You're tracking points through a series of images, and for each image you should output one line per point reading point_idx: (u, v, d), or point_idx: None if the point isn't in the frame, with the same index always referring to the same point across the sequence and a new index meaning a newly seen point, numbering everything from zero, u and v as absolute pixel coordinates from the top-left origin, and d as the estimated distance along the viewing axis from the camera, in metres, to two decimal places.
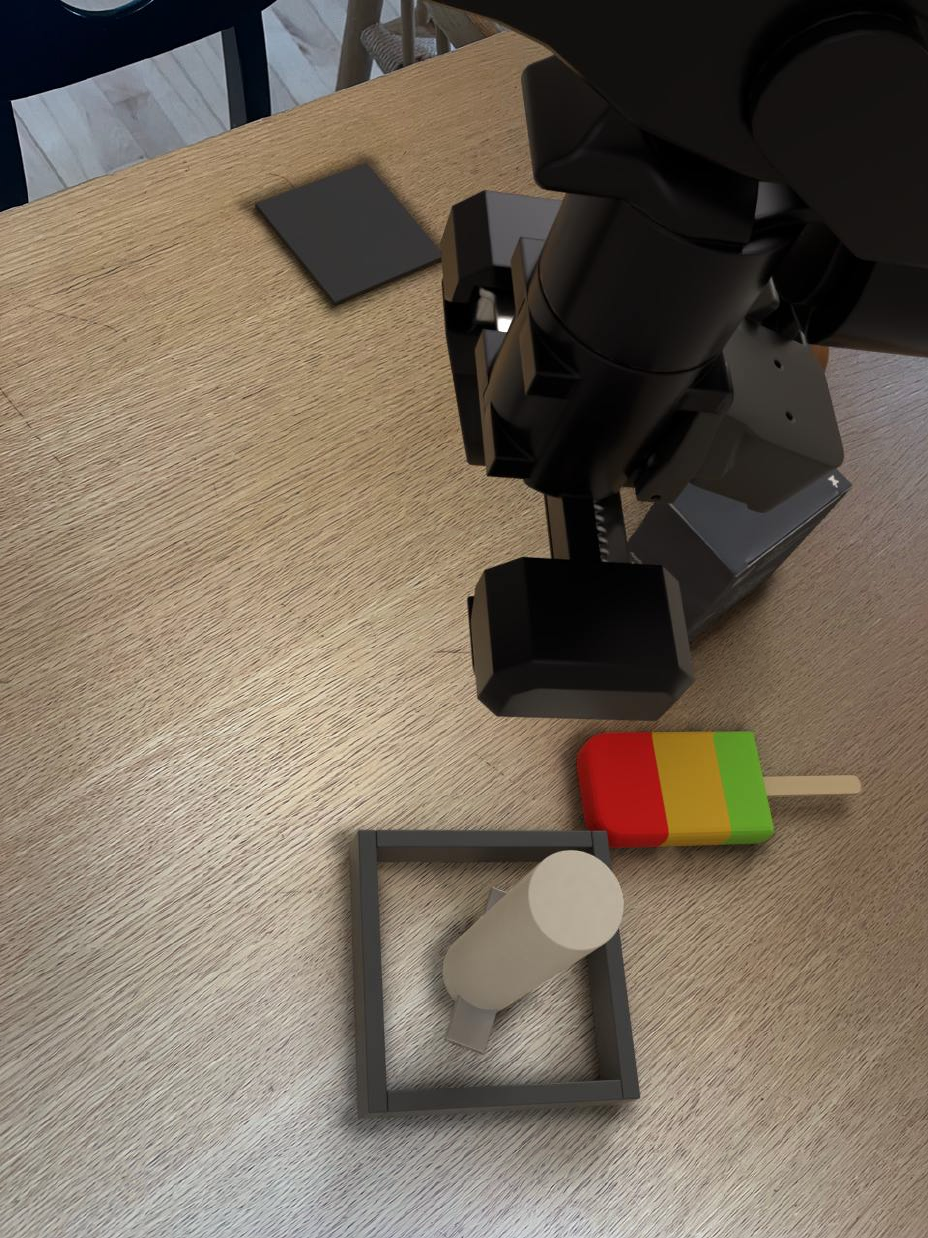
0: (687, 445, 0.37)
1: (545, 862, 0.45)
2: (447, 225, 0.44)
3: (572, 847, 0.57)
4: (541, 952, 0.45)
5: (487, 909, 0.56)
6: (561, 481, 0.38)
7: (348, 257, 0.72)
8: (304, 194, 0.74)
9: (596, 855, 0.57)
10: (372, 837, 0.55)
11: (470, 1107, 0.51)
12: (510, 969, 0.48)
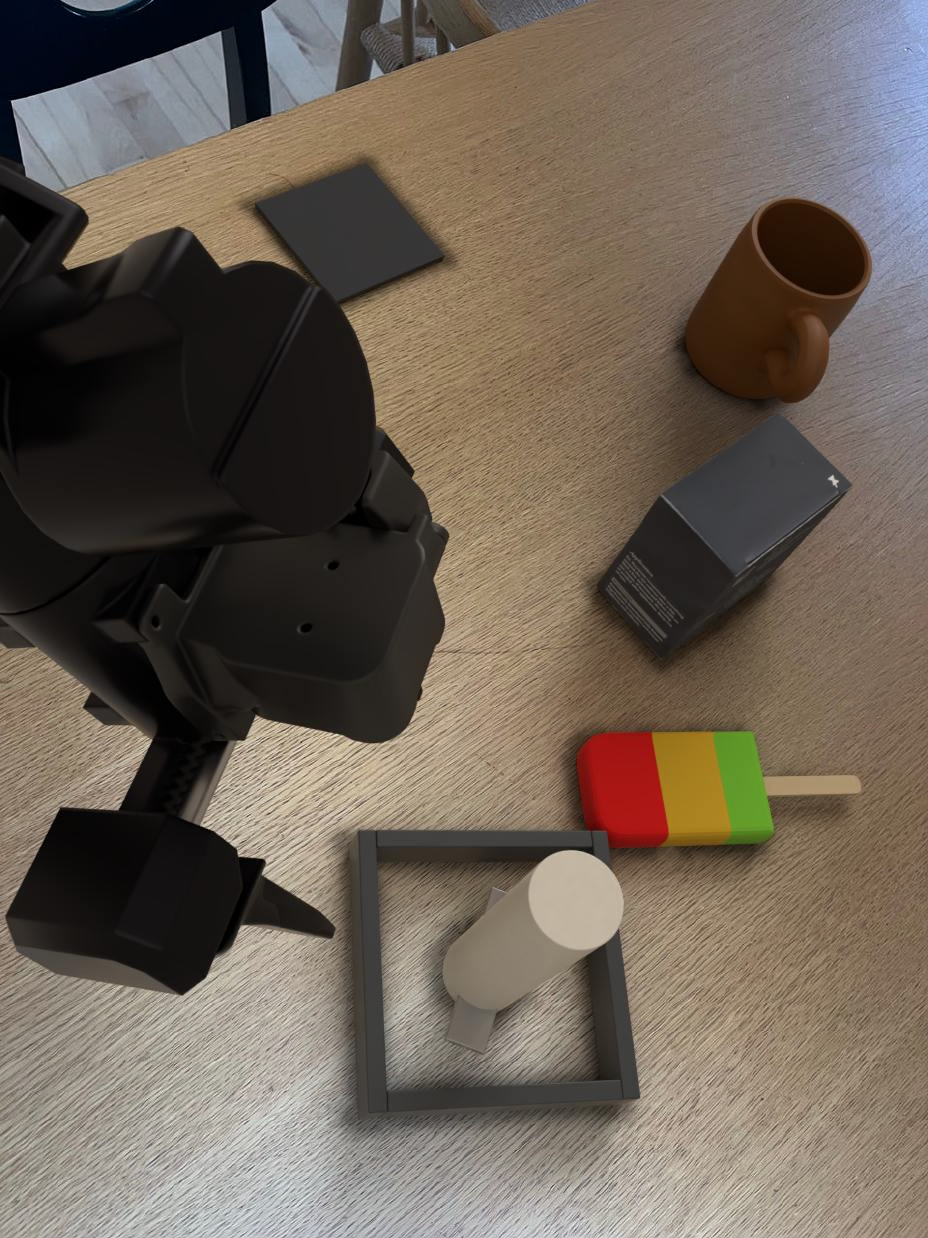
0: (163, 678, 0.33)
1: (545, 862, 0.45)
2: None
3: (572, 847, 0.57)
4: (541, 952, 0.45)
5: (487, 909, 0.56)
6: (136, 725, 0.36)
7: (348, 257, 0.72)
8: (304, 194, 0.74)
9: (596, 855, 0.57)
10: (372, 837, 0.55)
11: (470, 1107, 0.51)
12: (510, 969, 0.48)
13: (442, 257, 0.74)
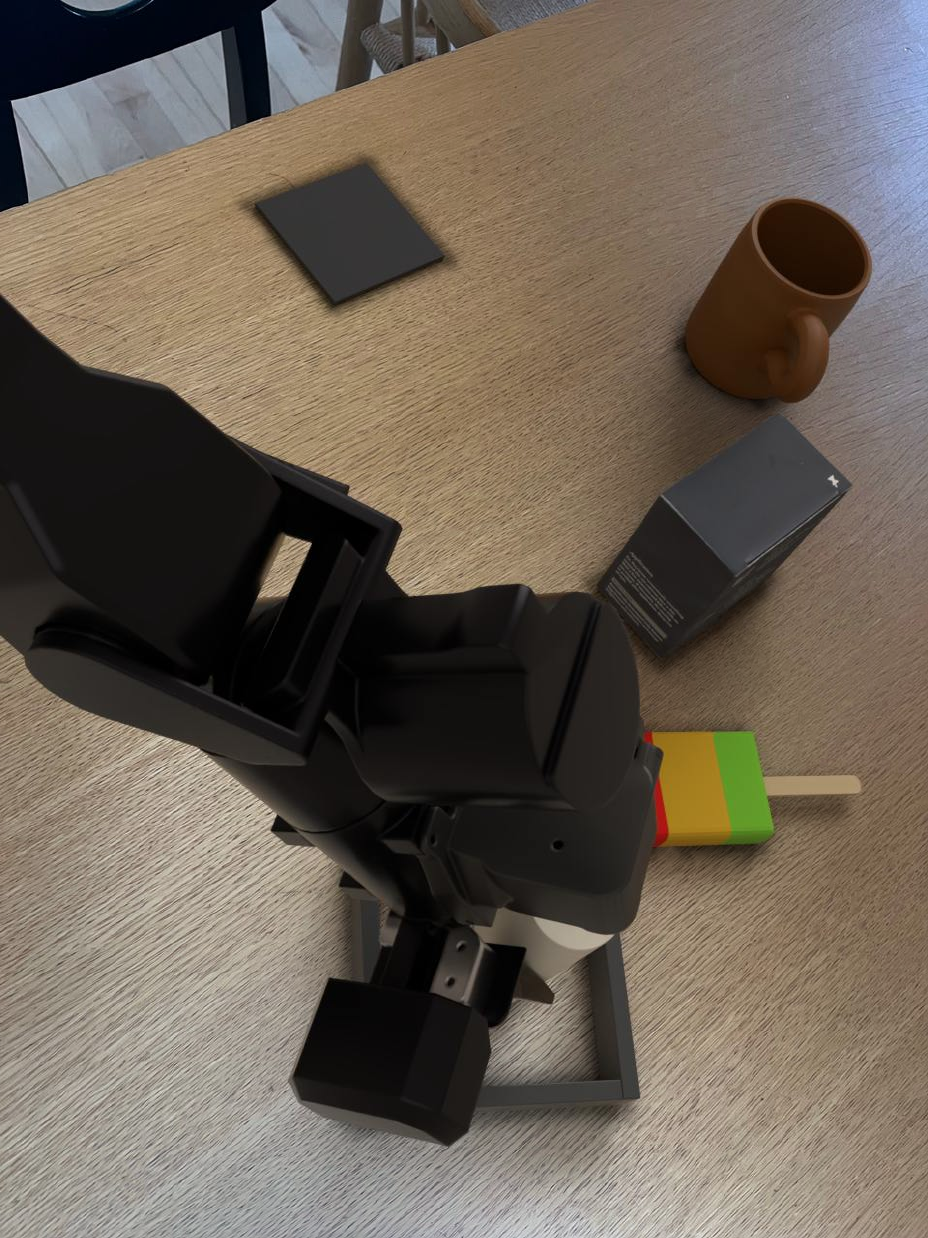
0: (432, 881, 0.40)
1: None
2: None
3: None
4: (541, 952, 0.45)
5: None
6: (390, 906, 0.43)
7: (348, 257, 0.72)
8: (304, 194, 0.74)
9: None
10: None
11: None
12: None
13: (442, 257, 0.74)
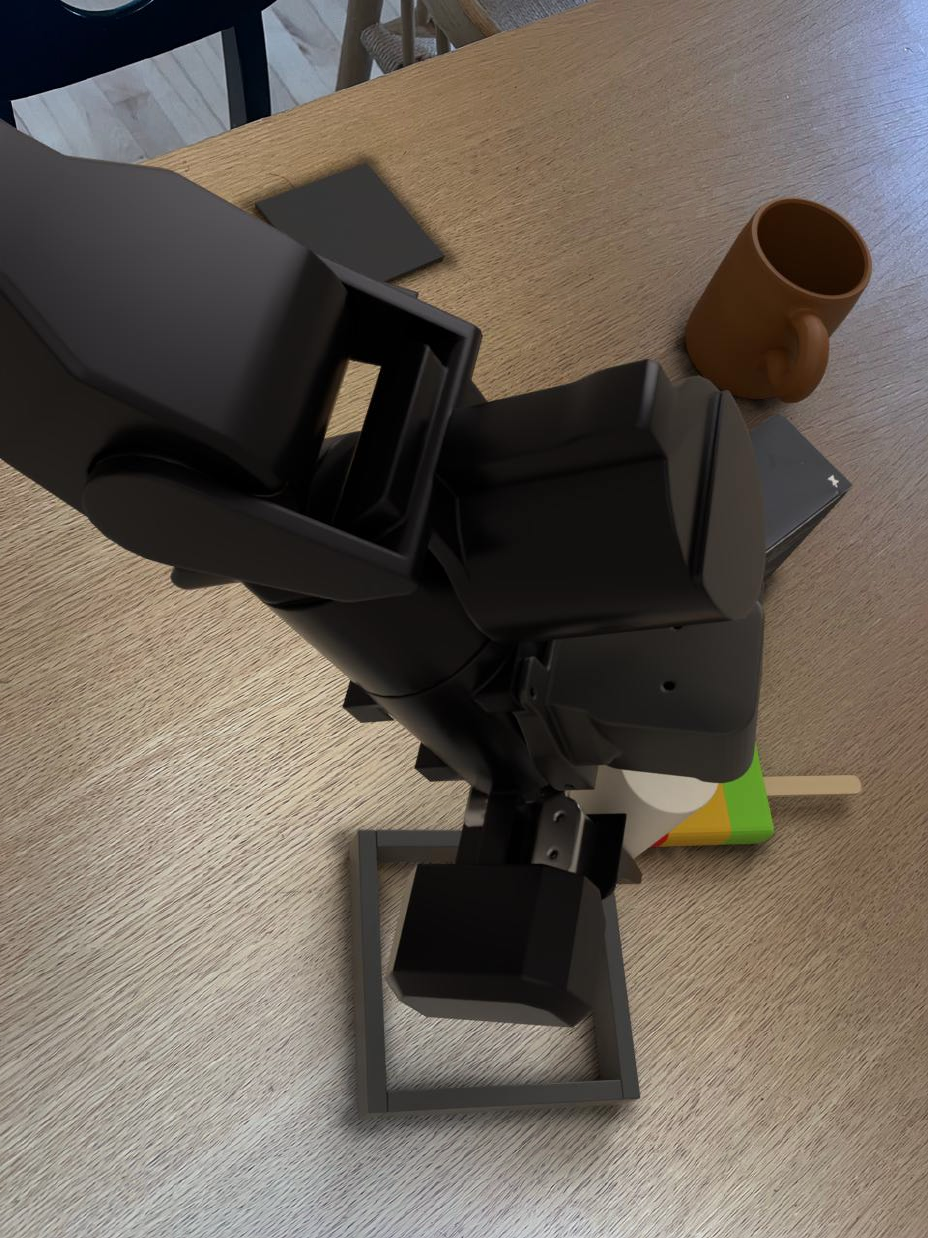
0: (531, 741, 0.36)
1: None
2: None
3: None
4: (635, 822, 0.42)
5: None
6: (476, 782, 0.39)
7: (348, 257, 0.72)
8: (304, 194, 0.74)
9: None
10: (372, 837, 0.55)
11: (470, 1107, 0.51)
12: None
13: (442, 257, 0.74)
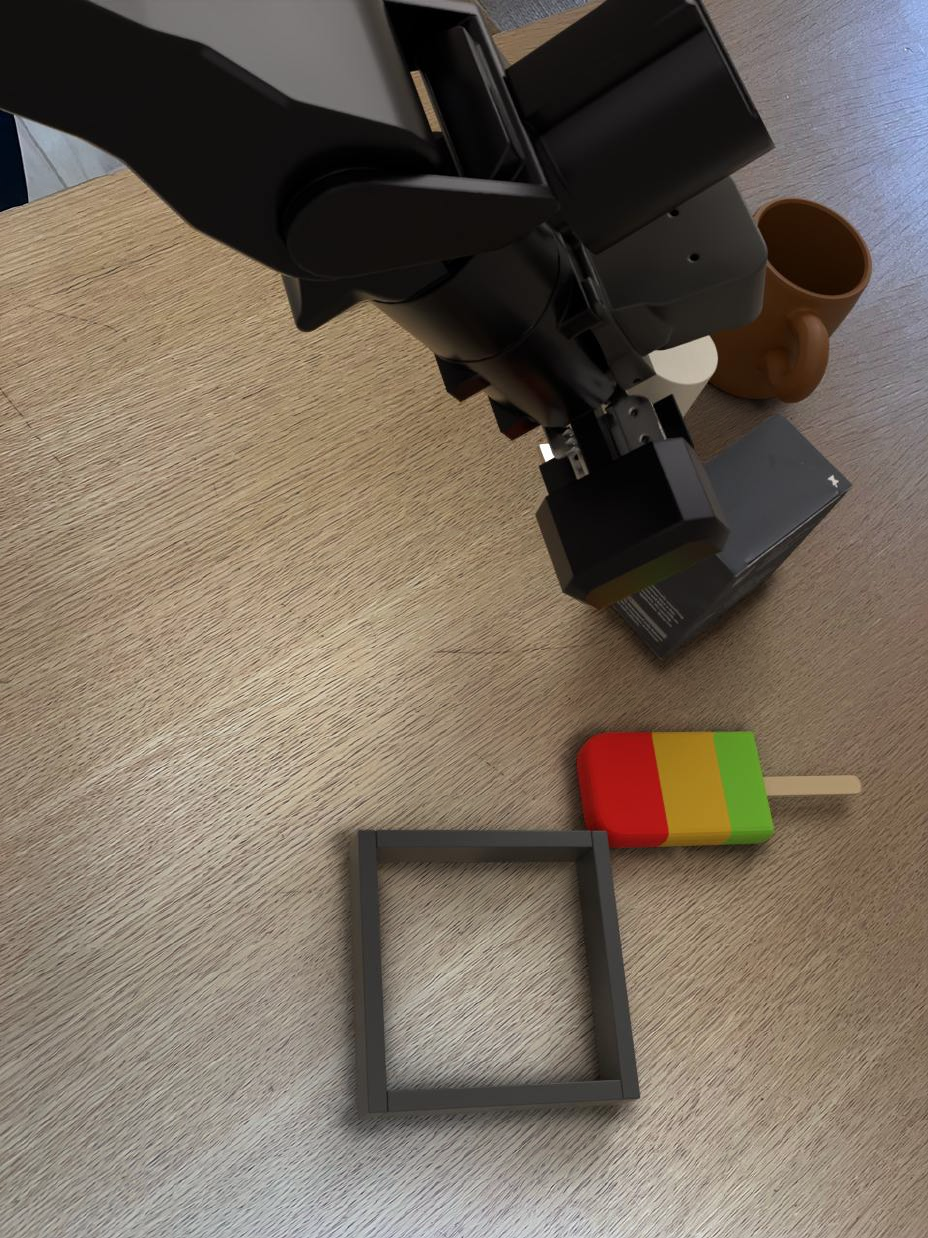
0: (608, 348, 0.43)
1: None
2: None
3: (572, 847, 0.57)
4: None
5: None
6: (557, 416, 0.46)
7: None
8: None
9: (596, 855, 0.57)
10: (372, 837, 0.55)
11: (470, 1107, 0.51)
12: None
13: None
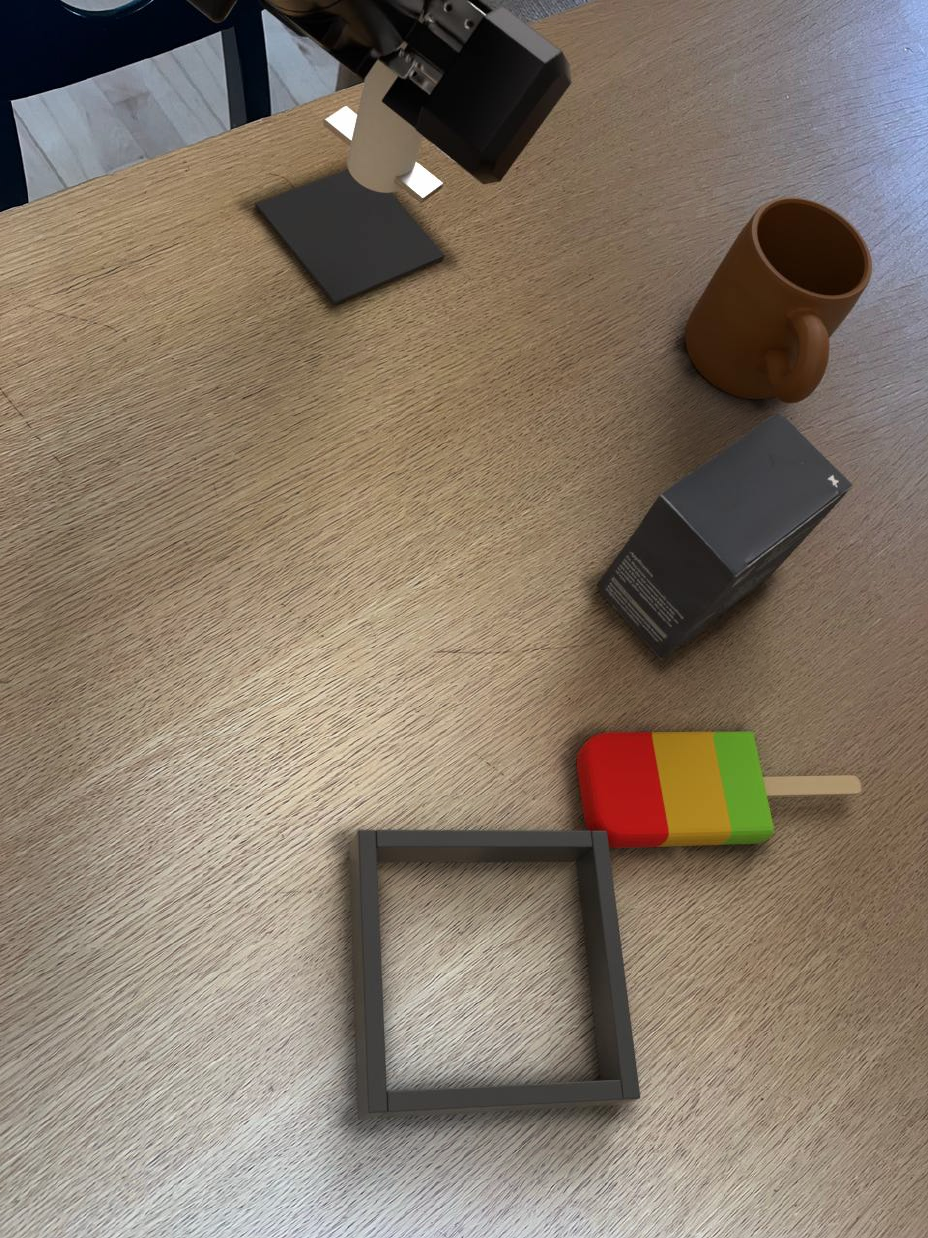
0: None
1: None
2: None
3: (572, 847, 0.57)
4: None
5: (340, 130, 0.67)
6: (394, 37, 0.53)
7: (348, 257, 0.72)
8: (304, 194, 0.74)
9: (596, 855, 0.57)
10: (372, 837, 0.55)
11: (470, 1107, 0.51)
12: None
13: (442, 257, 0.74)
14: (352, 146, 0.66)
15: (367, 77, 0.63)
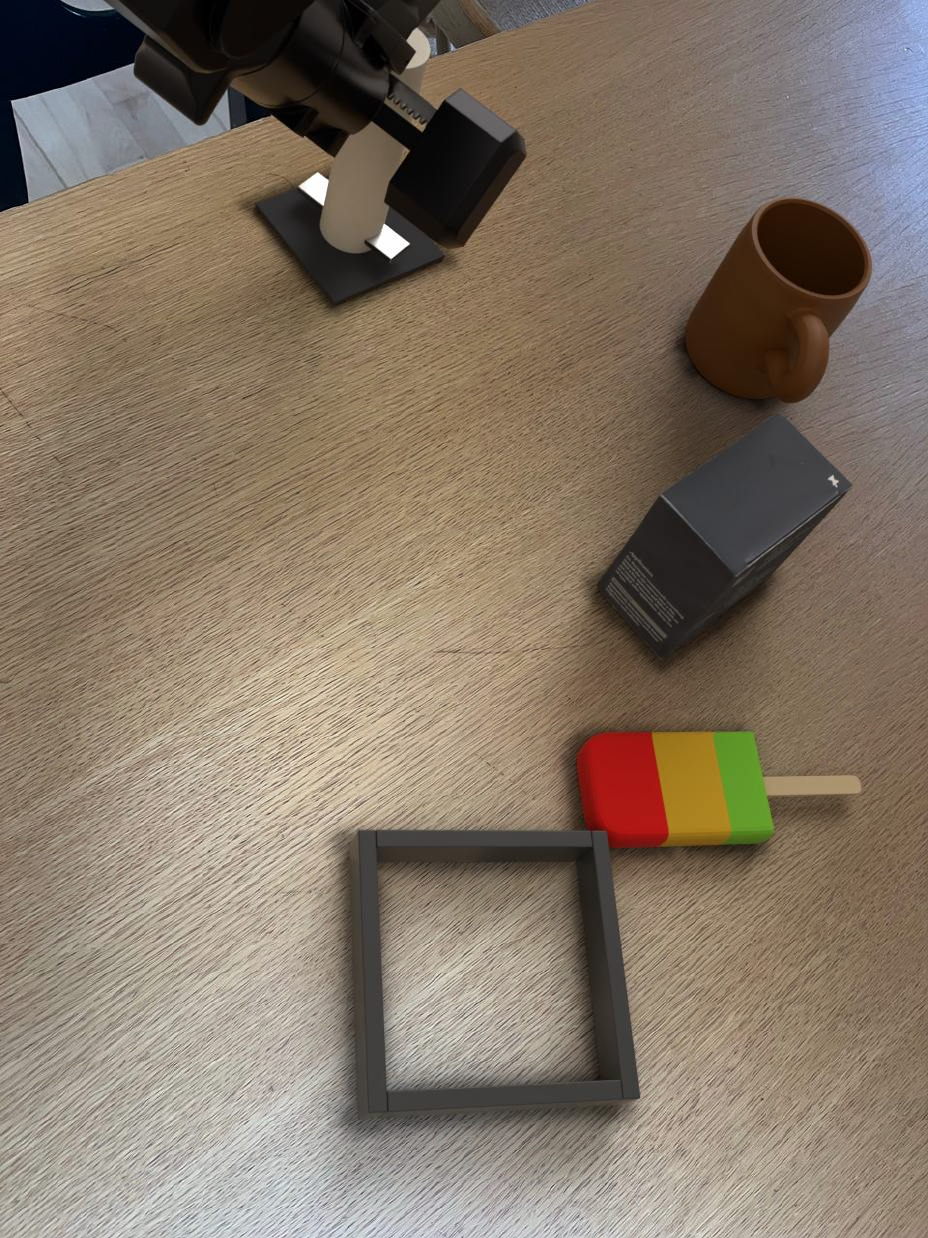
0: (385, 43, 0.55)
1: None
2: None
3: (572, 847, 0.57)
4: None
5: (312, 196, 0.72)
6: (362, 119, 0.58)
7: (348, 257, 0.72)
8: None
9: (596, 855, 0.57)
10: (372, 837, 0.55)
11: (470, 1107, 0.51)
12: (395, 146, 0.66)
13: (442, 257, 0.74)
14: (324, 212, 0.71)
15: None
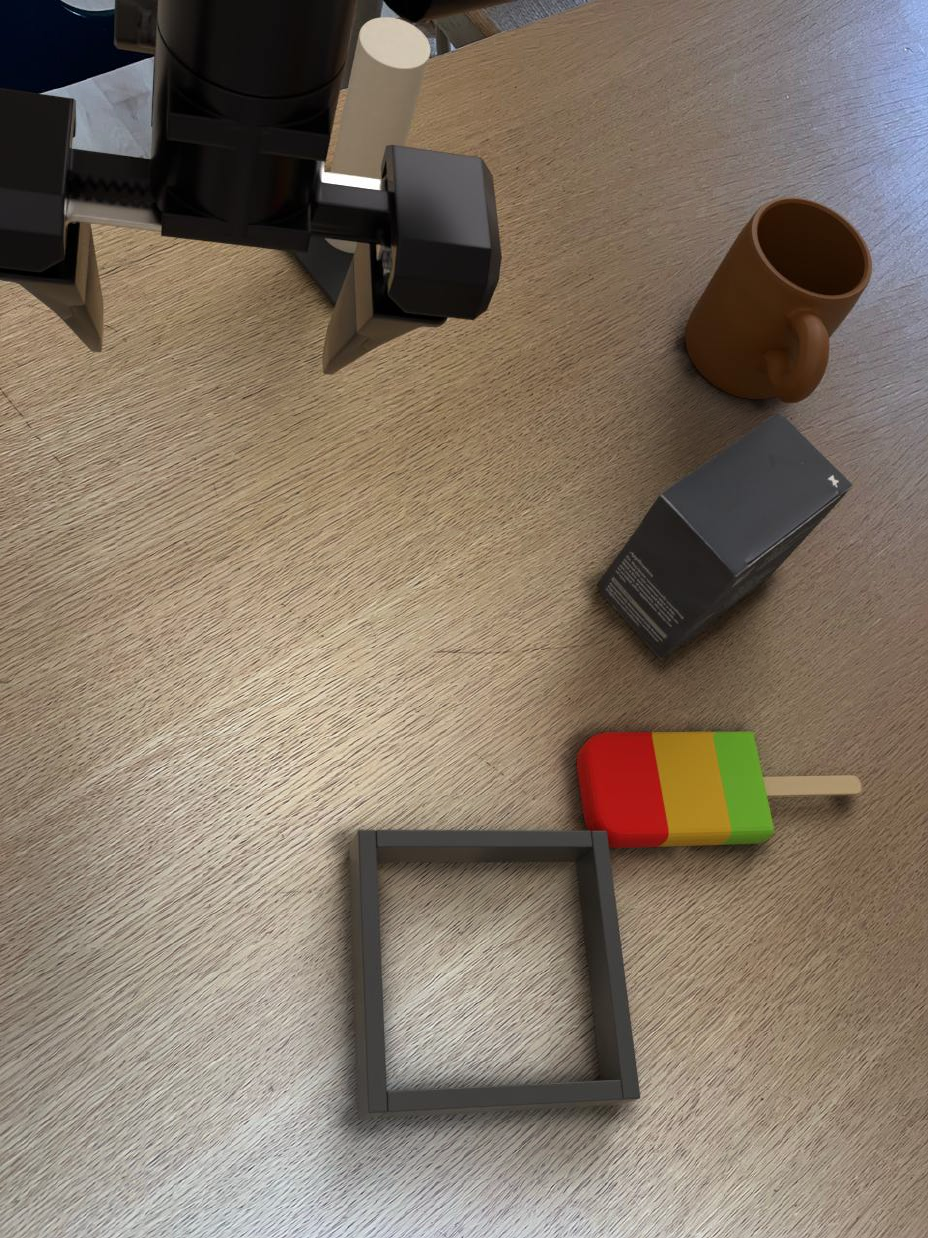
0: None
1: (363, 44, 0.61)
2: None
3: (572, 847, 0.57)
4: (411, 91, 0.63)
5: None
6: (318, 194, 0.43)
7: (348, 257, 0.72)
8: None
9: (596, 855, 0.57)
10: (372, 837, 0.55)
11: (470, 1107, 0.51)
12: None
13: None
14: None
15: (336, 151, 0.68)
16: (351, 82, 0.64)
